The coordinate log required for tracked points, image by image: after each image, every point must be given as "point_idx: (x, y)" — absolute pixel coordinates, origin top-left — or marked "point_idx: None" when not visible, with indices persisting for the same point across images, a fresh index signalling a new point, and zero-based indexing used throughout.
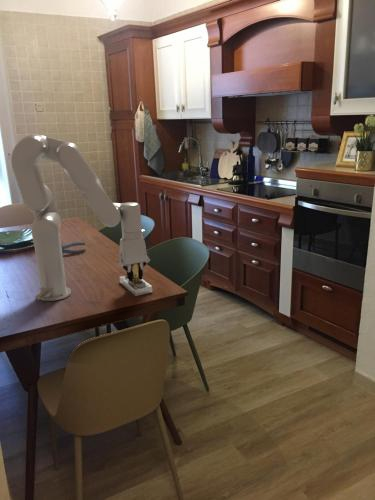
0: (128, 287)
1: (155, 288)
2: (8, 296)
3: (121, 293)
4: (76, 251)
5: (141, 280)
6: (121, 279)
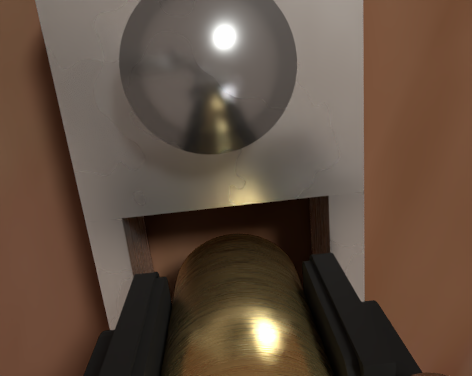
0: None
1: None
2: None
3: (35, 356)
4: None
5: None
6: (58, 66)
